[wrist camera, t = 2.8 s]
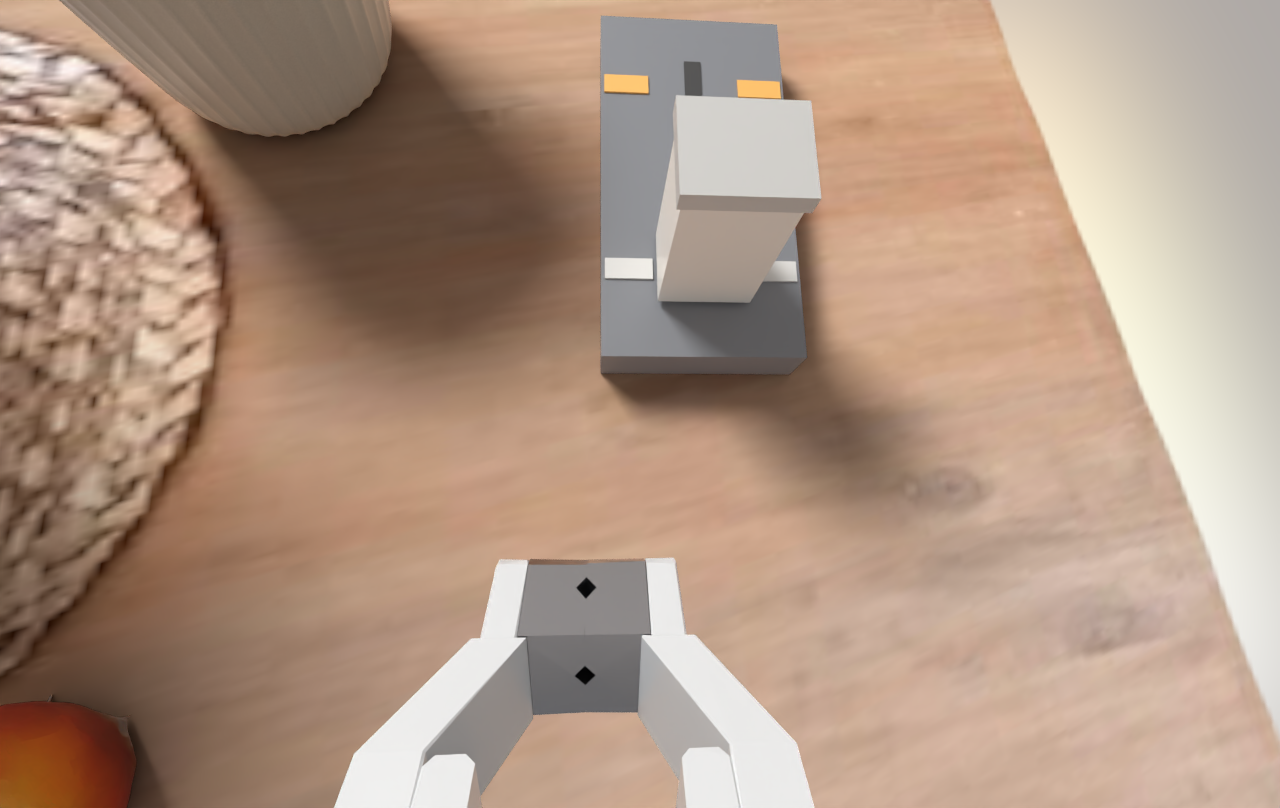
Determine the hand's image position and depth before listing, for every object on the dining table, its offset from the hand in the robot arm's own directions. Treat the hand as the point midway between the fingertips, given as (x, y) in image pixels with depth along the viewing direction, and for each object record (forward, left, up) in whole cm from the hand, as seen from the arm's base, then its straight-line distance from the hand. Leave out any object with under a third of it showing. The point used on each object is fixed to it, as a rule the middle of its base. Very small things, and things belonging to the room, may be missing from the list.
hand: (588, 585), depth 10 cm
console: (-14, +17, -22) cm, 31 cm away
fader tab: (-9, +14, -19) cm, 25 cm away
